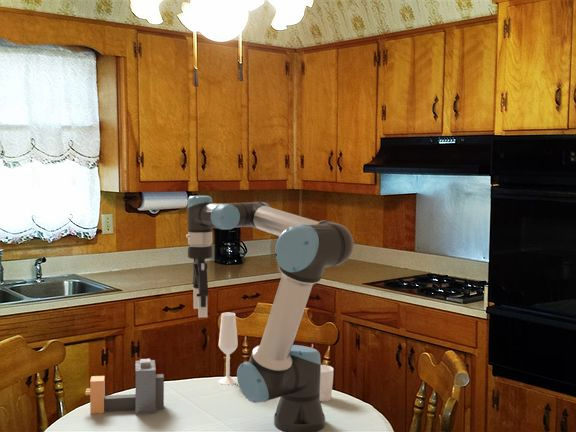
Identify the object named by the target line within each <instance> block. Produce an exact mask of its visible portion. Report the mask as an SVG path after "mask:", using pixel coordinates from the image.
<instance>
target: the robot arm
mask: <svg viewBox="0 0 576 432" xmlns="http://www.w3.org/2000/svg"><path fill="white" fill-rule="evenodd" d="M186 211H187V233H188V234H186V235H185V238H186V239H187V244H188V247H187V257H188V259H191V260H193V265H192V268H193V272H192V273H193V275H192V287H193V293H192V294H193V296H192V297H193V299H192V300H193V309H194V310H196V309H197V310H198V312H197V313H198V315H197V316H198V318H199V319H200V318H208V296H209V285H208V284H209V283H208V264H207V263H206V261H205V260H206V259H211V258H212V257H213V246H212V244H213V229H217V230H218V229H219V230H223V231H224V230H232V229H234V228H253V229H257V230H260V231H263V232H266V233H269V234H271V235H275V236H278V238H277V241H276V244H275V254H276V256H275V258H276V262H277V264H278V269H279V272H280V273H281V277H280V281H279V284H278V288H277V290H276V294H275V297H274V300H273V302H272V305H271V309H270V312H269V316H268V319H267V321H266V325H265V328H264V332H263V335H262V338H261V340H260V344H259V345H256V346H255V347H254V348H253V349H252V351H251V355H250V358H249V360H248V361H244V362H242V363H240V364H239V366H238V368H237V369H236V370H237V371H236V380H237V385H238V387H239V390H240V392H241V394H242V395H243V396H244V397H245V399H246V400H247V401H249V402H251V403H252V404H253V403H254V404H257V403H266V402H268V401H270V400H274V399H278V398H279V401H278V404H277V407H276V410H275V412H274V417H273V425H274V426H275V427H276V428H277V429H279V430H281V431H284V432H319V431H321V430H322V429H324V427H325V426H326V416H325V413H324V412H323V411H324V410H323V406H322V403H321V402H322V401H320V371H321V365H322V362H321V354H320V352H319V350H317V349H315V348H313V347H311V346H310V347H309V346H304V345H299V344H294V342H295V338H296V336H297V333H298V330H299V327H300V325H301V321H302V318H303V315H304V312H305V309H306V306H307V303H308V300H309V297H310V294H311V291H312V288H313V285H315V284H318V283H319V282H320V281H321V279H322V277H323V274H324V271H325V268H332V267H337V266H339V265H342V264H344V263H345V262H346V261H348V259H349V258H350V257H351V255H352V253H353V251H354V238H353V235H352V233H351V231H350V230H349V229H348V228H347V227H346V226H344V225H343V224H340V223H338V222H333V221H330V220H325V219H324V220H323V219H322V220H320V221H317V220H314V219H311V218H308V217H303V216H300V215H298V214H294V213H290V212H287V211H284V210H280V209H277V208H273V207H271V206H270V204H269V203H267V202H263V201H252V202H249V201H248V202H230V203H229V202H226V203H215V202H214V203H213V199H212V197H211V196H209V195H190V196H189V197H188V199H187V208H186Z"/></svg>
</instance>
